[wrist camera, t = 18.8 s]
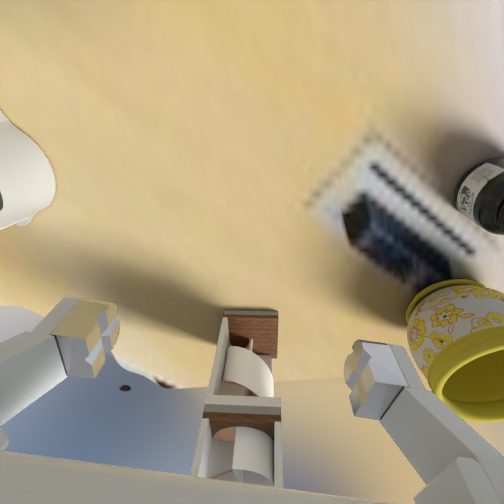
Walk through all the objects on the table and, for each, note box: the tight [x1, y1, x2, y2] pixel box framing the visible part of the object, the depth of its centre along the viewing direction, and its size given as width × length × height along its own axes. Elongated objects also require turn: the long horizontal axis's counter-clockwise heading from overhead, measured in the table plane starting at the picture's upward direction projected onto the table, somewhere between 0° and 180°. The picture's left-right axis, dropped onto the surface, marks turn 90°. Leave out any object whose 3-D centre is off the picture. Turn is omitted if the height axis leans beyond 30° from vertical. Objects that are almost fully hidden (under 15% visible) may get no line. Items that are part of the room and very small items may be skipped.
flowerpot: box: [406, 279, 504, 422], centre depth 46 cm, size 18×18×16 cm
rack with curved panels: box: [190, 310, 283, 488], centre depth 44 cm, size 11×11×35 cm
